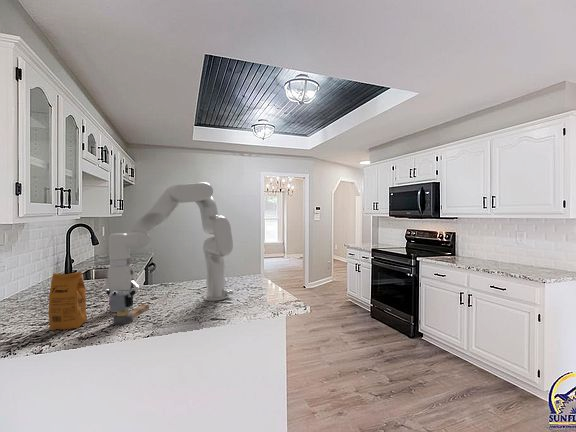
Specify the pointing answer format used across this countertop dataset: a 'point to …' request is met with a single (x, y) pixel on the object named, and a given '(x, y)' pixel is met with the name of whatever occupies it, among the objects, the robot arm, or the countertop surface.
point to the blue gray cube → (119, 302)
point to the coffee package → (67, 301)
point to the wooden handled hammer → (128, 315)
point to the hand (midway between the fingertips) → (122, 305)
